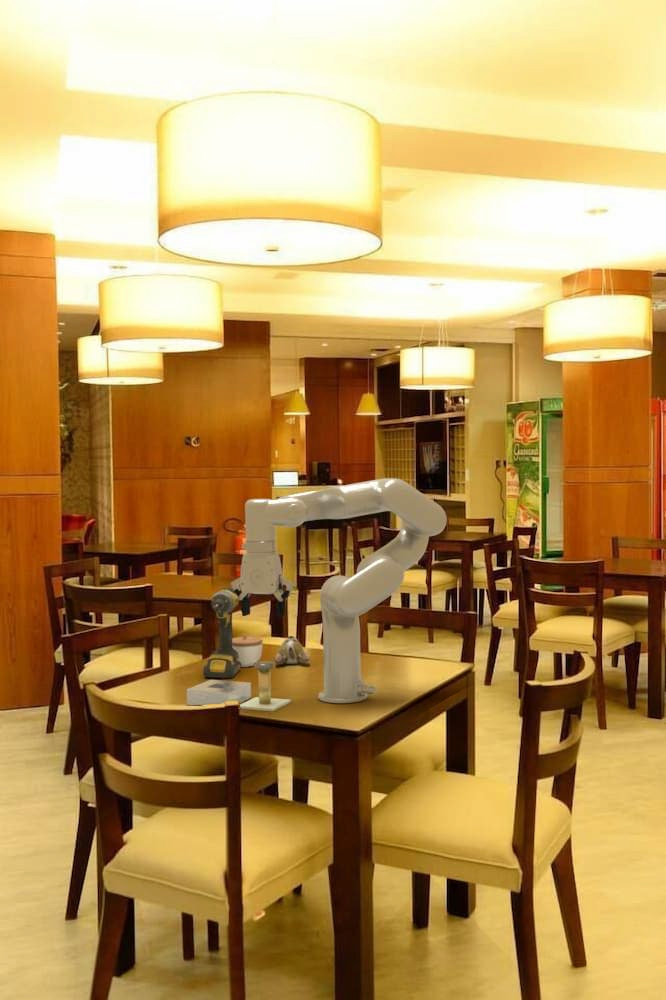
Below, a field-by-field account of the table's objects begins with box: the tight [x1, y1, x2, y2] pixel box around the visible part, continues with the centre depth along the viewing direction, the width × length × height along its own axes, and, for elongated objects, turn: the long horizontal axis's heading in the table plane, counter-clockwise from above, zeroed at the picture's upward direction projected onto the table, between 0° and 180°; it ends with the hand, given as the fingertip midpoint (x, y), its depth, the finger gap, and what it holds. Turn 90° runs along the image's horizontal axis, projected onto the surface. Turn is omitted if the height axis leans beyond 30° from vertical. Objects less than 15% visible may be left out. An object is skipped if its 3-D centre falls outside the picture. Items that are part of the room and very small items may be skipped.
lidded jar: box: [232, 633, 263, 668], centre depth 298 cm, size 11×11×9 cm
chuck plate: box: [186, 679, 252, 706], centre depth 251 cm, size 12×12×4 cm
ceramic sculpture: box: [274, 635, 311, 665], centre depth 299 cm, size 11×9×15 cm
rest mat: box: [239, 696, 292, 712], centre depth 246 cm, size 10×10×1 cm
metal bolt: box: [253, 660, 275, 705], centre depth 246 cm, size 5×5×10 cm
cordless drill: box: [202, 586, 242, 679], centre depth 282 cm, size 9×20×25 cm, turn 172°
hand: (263, 615), depth 246 cm, fingers open, 9 cm apart
